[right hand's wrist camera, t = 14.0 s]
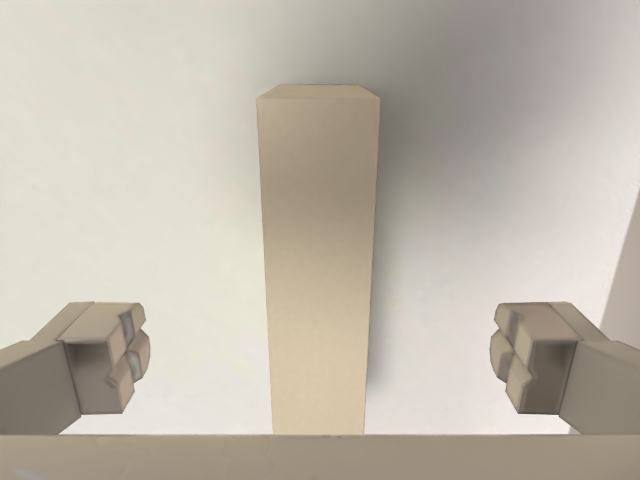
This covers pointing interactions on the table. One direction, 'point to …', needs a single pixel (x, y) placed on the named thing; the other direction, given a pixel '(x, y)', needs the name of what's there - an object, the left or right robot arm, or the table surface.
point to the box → (318, 251)
